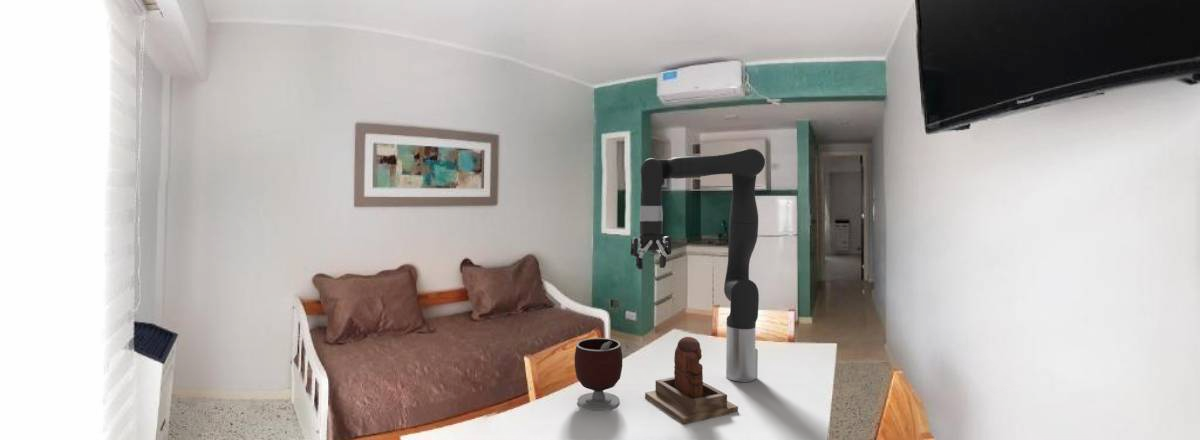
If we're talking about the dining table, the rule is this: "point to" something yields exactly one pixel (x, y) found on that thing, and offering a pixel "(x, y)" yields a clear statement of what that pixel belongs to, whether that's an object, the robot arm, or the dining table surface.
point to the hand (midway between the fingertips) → (651, 268)
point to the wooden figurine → (688, 368)
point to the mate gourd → (598, 372)
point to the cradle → (690, 402)
